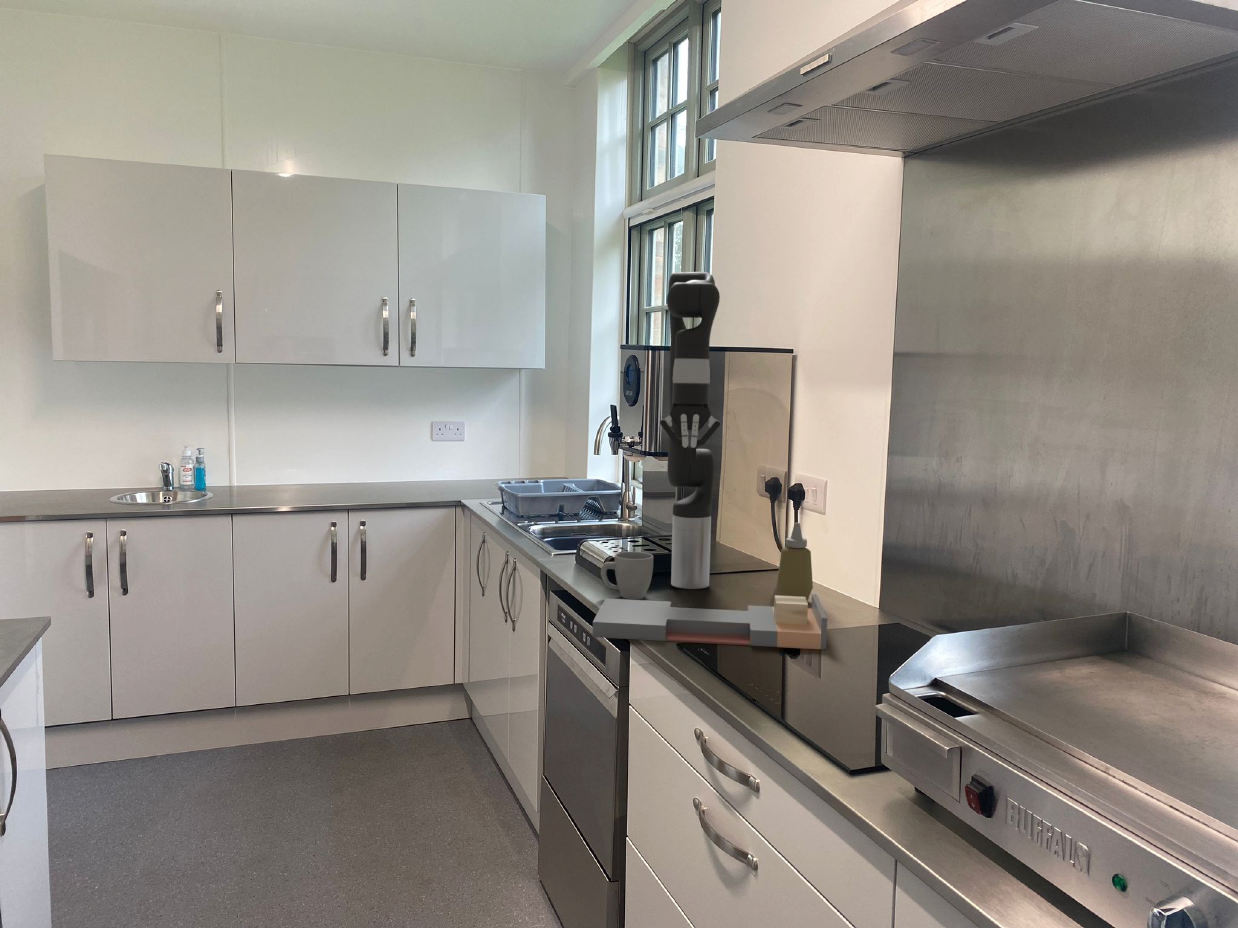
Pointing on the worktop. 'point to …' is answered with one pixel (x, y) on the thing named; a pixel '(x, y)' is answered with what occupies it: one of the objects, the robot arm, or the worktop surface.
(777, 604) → the maple block
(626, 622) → the trap deck
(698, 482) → the robot arm
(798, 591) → the squeeze bottle
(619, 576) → the mug
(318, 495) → the worktop surface
